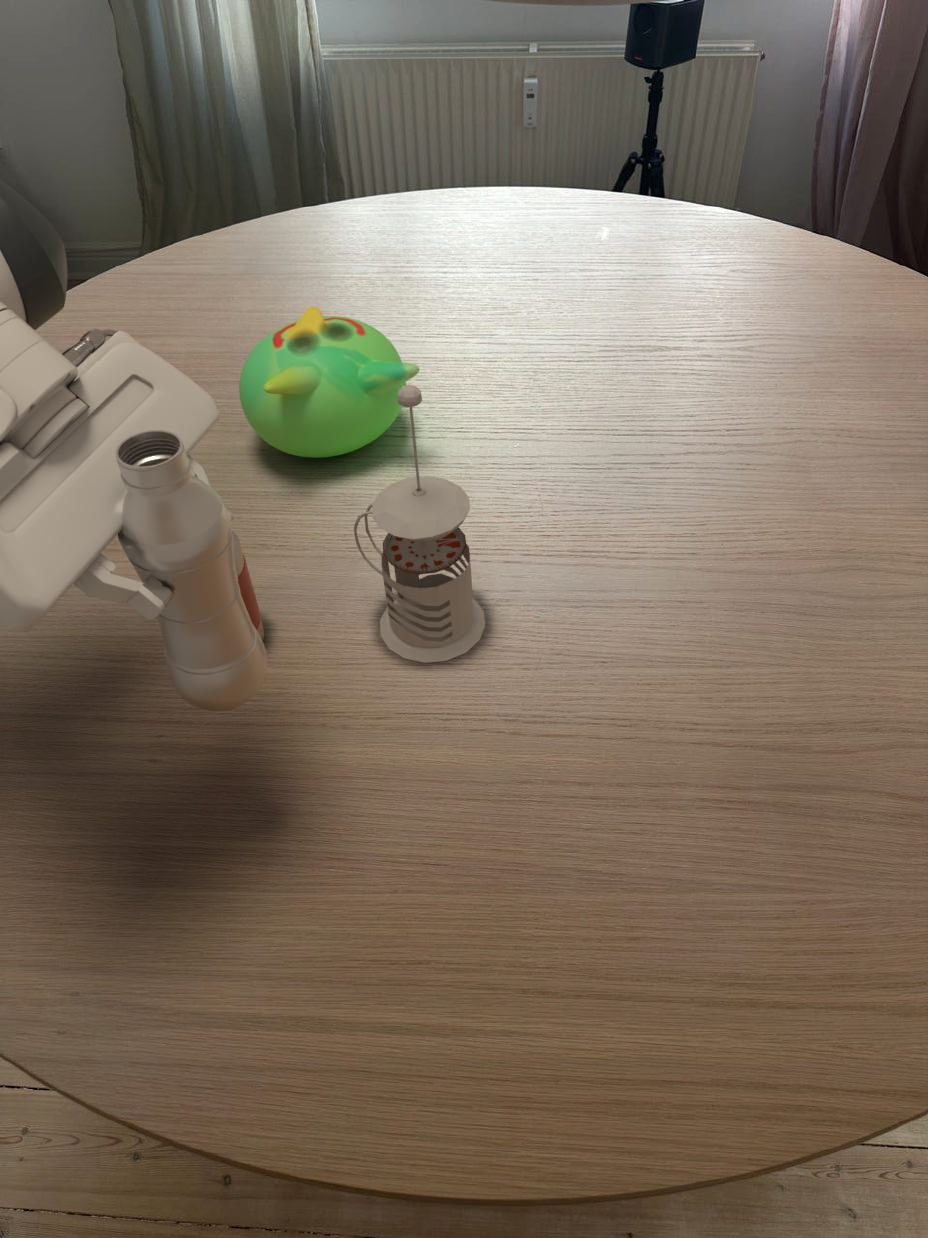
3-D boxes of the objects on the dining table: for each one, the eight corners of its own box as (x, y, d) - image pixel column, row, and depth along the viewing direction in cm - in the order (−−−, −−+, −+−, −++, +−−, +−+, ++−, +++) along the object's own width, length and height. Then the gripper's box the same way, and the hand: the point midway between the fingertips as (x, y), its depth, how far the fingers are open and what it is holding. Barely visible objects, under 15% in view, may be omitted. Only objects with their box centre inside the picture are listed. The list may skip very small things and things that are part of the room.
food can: (185, 669, 88) (152, 579, 80) (197, 615, 93) (166, 525, 85) (261, 664, 88) (234, 574, 80) (269, 611, 92) (244, 521, 85)
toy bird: (384, 386, 119) (370, 270, 108) (435, 461, 108) (425, 341, 97) (239, 424, 114) (210, 307, 104) (276, 507, 103) (248, 385, 93)
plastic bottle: (206, 644, 71) (128, 406, 57) (290, 665, 69) (232, 426, 55) (158, 710, 67) (61, 471, 52) (246, 734, 65) (170, 494, 51)
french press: (452, 677, 86) (432, 438, 68) (342, 634, 90) (295, 399, 72) (504, 606, 91) (498, 369, 74) (398, 568, 96) (368, 336, 78)
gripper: (86, 343, 64) (249, 488, 68) (-143, 541, 51) (78, 705, 55) (126, 287, 60) (296, 446, 64) (-113, 487, 46) (124, 670, 51)
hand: (194, 568), depth 60 cm, fingers closed on plastic bottle, 6 cm apart
